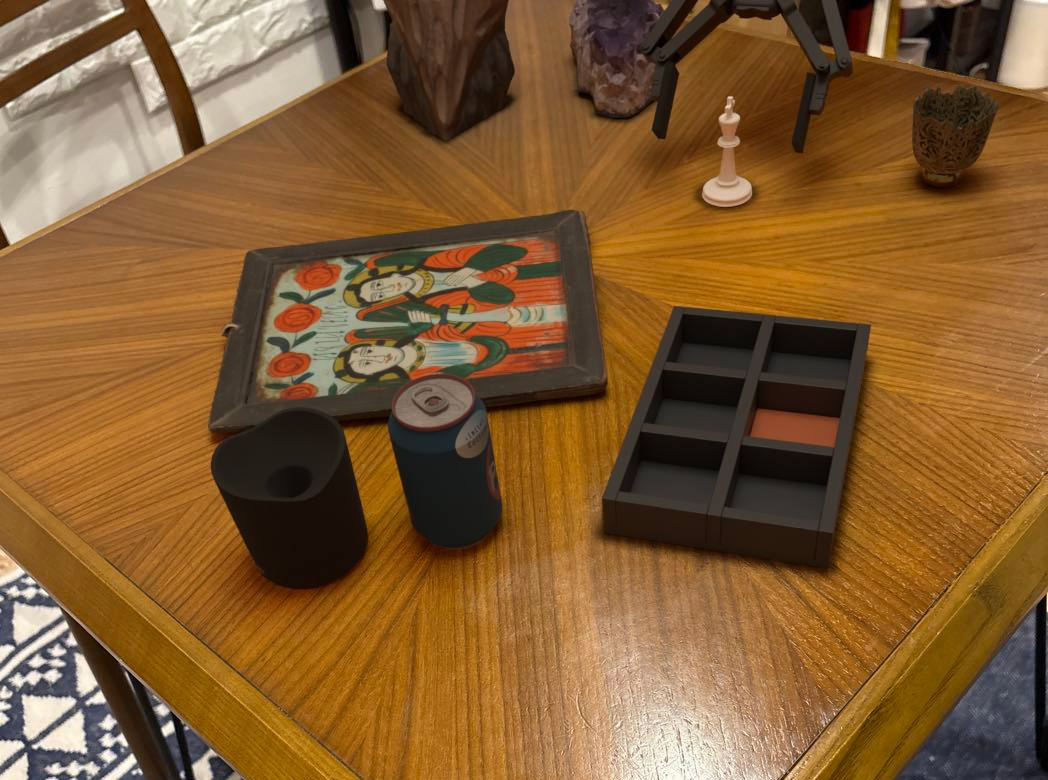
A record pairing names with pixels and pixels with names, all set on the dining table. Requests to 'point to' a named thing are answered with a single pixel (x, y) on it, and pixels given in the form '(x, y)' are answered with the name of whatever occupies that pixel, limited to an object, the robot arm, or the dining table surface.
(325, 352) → the painting
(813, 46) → the robot arm
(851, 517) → the dining table surface
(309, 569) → the pen holder
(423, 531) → the soda can
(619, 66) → the geode
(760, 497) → the grid
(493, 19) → the owl
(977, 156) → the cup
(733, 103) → the chess piece
